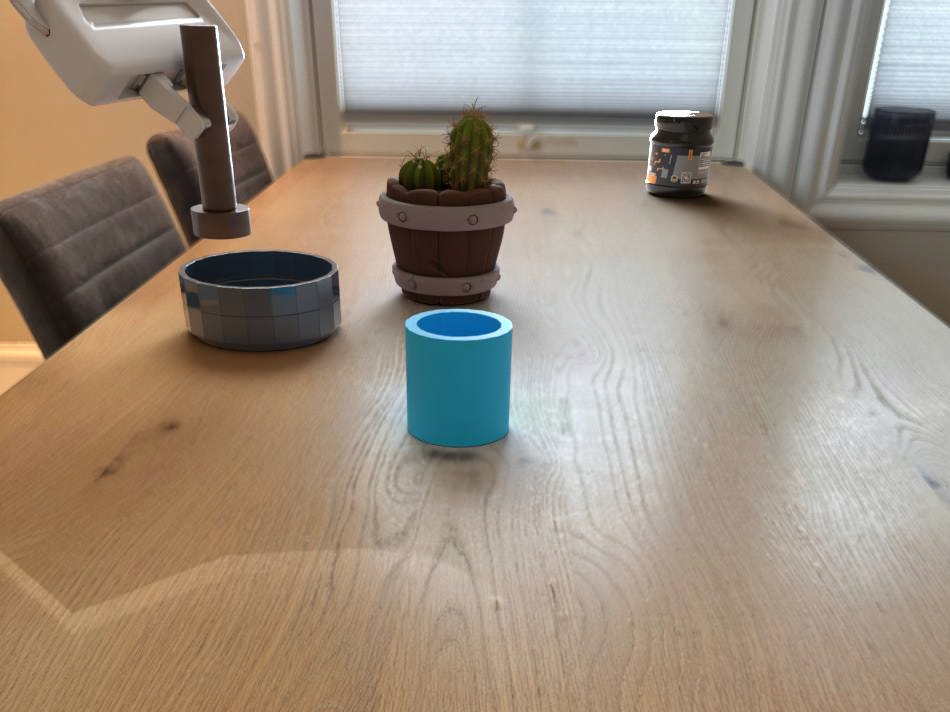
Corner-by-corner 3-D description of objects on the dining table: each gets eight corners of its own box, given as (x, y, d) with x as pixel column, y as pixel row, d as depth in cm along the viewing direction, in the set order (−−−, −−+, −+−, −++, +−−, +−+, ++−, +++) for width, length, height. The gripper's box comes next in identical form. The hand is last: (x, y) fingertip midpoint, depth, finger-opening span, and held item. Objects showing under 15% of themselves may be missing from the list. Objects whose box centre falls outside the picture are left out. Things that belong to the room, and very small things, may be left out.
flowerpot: (352, 293, 110) (342, 91, 99) (447, 271, 120) (448, 83, 108) (444, 321, 102) (444, 104, 91) (538, 294, 111) (549, 95, 100)
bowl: (159, 327, 98) (149, 265, 95) (284, 300, 107) (279, 242, 104) (243, 364, 90) (235, 297, 86) (372, 332, 98) (369, 270, 95)
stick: (182, 232, 83) (153, 23, 74) (231, 224, 86) (208, 22, 77) (213, 242, 80) (186, 26, 72) (262, 234, 83) (242, 25, 74)
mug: (517, 444, 75) (522, 339, 71) (412, 448, 74) (410, 342, 70) (492, 390, 85) (495, 294, 81) (399, 393, 84) (396, 296, 80)
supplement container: (644, 186, 172) (652, 109, 165) (705, 189, 171) (715, 111, 164) (644, 197, 163) (653, 116, 157) (708, 200, 162) (719, 118, 156)
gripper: (12, -61, 65) (162, 113, 68) (183, -52, 81) (298, 89, 84) (-25, 16, 69) (119, 178, 72) (146, 10, 85) (258, 142, 88)
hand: (217, 130), depth 78 cm, fingers closed on stick, 3 cm apart
